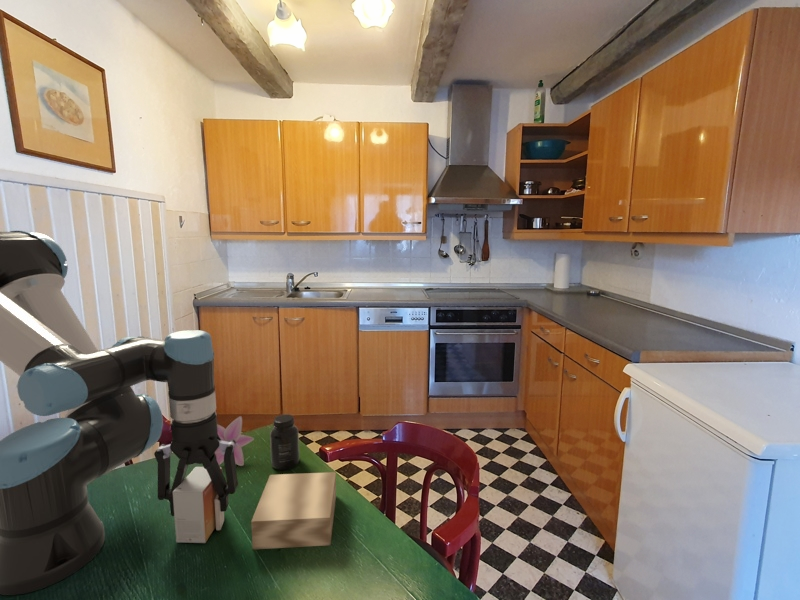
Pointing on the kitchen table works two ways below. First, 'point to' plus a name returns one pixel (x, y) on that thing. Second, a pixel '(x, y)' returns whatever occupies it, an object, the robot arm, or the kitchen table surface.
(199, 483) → the small box
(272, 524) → the riser
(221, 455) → the lily
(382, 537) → the kitchen table surface
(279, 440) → the supplement bottle
